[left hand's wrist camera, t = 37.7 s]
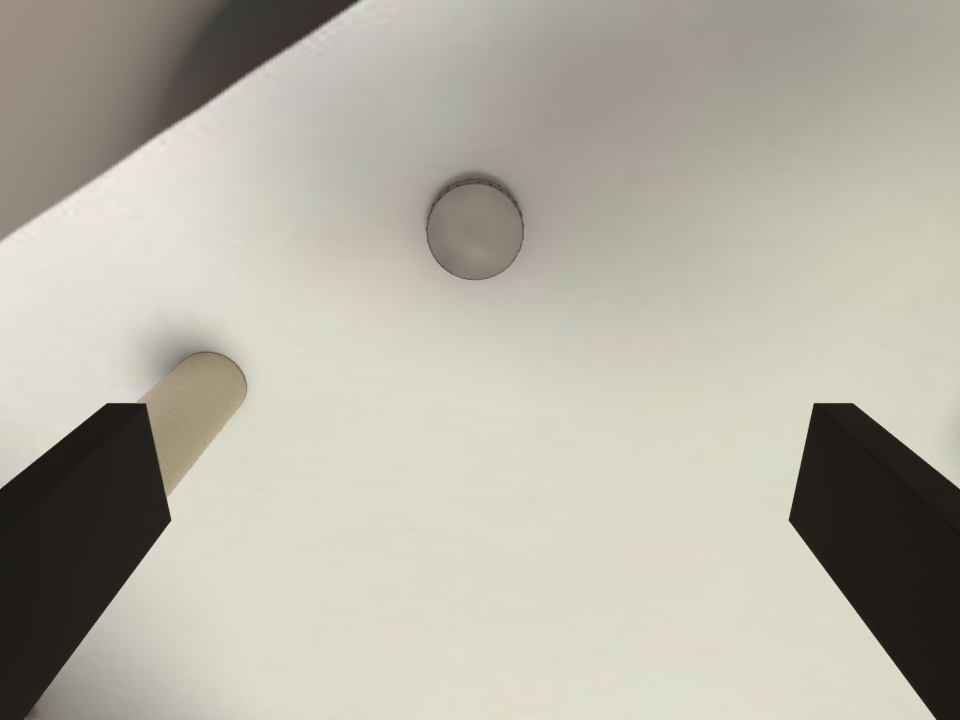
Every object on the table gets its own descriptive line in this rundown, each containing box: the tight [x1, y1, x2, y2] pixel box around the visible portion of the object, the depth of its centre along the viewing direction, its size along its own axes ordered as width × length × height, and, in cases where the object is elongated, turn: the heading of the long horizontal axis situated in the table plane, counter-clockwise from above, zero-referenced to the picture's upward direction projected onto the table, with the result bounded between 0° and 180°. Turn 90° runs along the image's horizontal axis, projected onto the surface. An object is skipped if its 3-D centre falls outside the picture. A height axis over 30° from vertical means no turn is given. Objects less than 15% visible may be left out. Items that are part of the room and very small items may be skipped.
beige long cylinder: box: [136, 352, 246, 498], centre depth 34 cm, size 4×4×16 cm
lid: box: [426, 178, 524, 280], centre depth 36 cm, size 6×6×2 cm
